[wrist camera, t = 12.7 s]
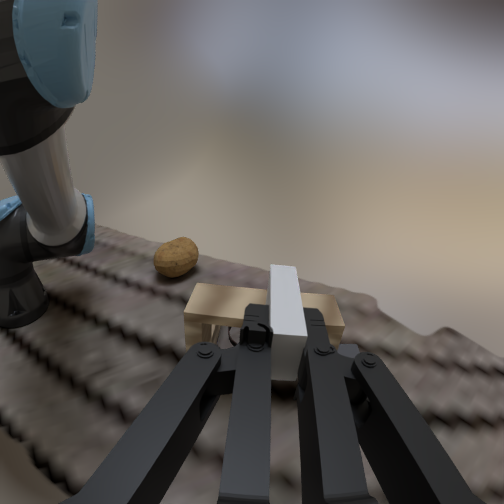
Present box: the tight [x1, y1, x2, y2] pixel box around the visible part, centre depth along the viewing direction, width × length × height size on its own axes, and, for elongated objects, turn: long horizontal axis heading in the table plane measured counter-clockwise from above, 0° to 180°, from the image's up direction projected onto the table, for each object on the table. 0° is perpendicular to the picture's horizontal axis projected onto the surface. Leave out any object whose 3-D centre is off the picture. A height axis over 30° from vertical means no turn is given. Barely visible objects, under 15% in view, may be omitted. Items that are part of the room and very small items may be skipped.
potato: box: [154, 237, 198, 278], centre depth 69 cm, size 10×14×8 cm
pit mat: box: [337, 344, 360, 358], centre depth 46 cm, size 8×7×1 cm
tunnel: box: [184, 283, 345, 352], centre depth 44 cm, size 18×21×14 cm
